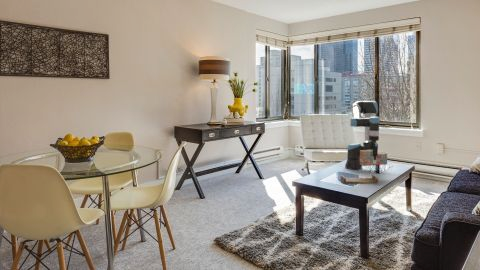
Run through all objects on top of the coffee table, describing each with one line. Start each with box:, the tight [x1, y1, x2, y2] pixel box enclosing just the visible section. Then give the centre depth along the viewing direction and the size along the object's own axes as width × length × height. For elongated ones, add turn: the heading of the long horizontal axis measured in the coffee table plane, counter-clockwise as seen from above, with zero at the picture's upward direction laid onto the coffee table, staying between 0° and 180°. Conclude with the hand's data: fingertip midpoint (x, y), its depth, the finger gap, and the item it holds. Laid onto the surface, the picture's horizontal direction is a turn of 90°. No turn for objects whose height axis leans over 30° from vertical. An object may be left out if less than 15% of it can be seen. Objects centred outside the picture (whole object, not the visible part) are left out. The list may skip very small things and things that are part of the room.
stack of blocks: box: [360, 150, 388, 167], centre depth 284 cm, size 21×6×12 cm, turn 100°
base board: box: [340, 174, 379, 185], centre depth 271 cm, size 12×26×4 cm, turn 85°
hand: (372, 162), depth 284 cm, fingers closed on stack of blocks, 7 cm apart
